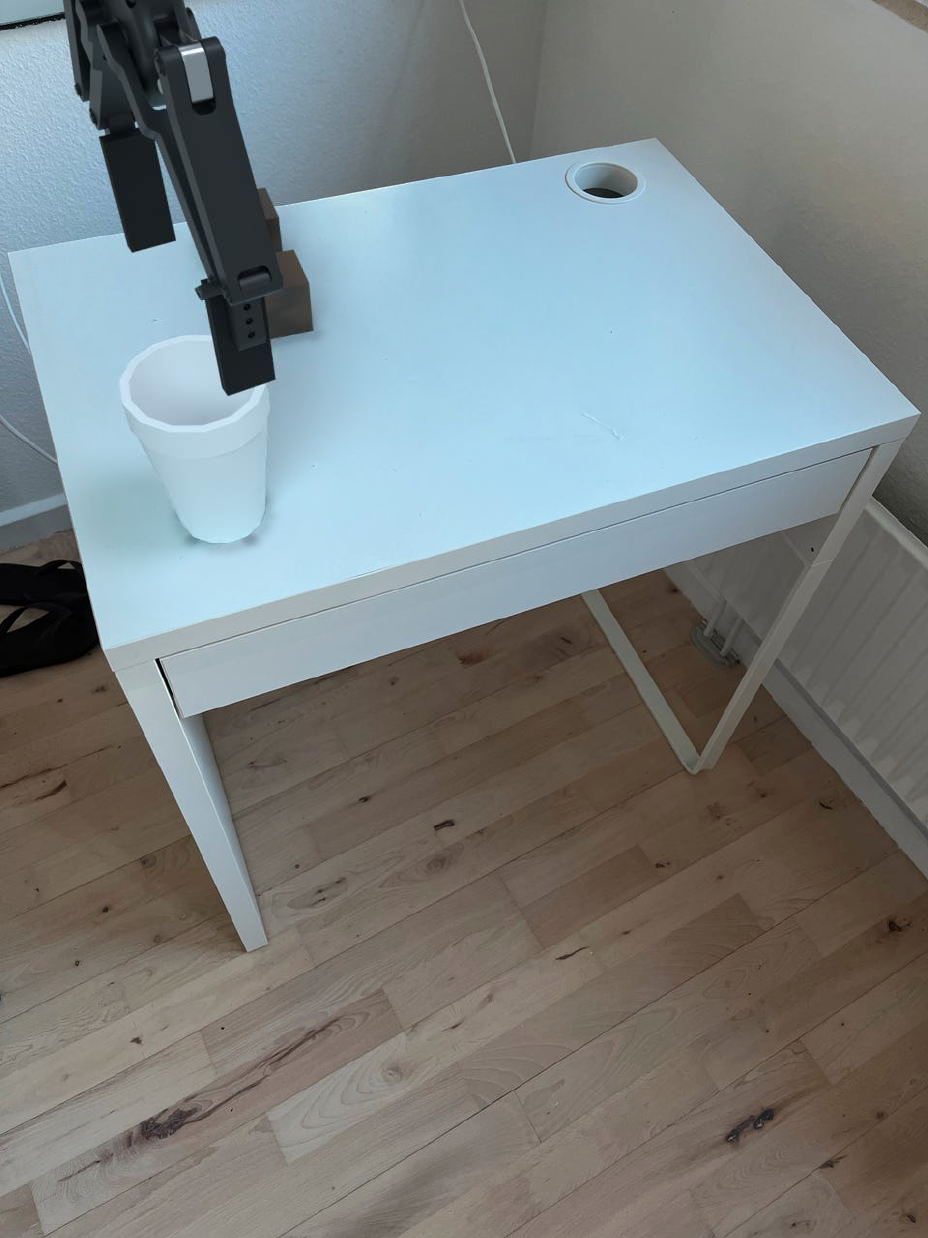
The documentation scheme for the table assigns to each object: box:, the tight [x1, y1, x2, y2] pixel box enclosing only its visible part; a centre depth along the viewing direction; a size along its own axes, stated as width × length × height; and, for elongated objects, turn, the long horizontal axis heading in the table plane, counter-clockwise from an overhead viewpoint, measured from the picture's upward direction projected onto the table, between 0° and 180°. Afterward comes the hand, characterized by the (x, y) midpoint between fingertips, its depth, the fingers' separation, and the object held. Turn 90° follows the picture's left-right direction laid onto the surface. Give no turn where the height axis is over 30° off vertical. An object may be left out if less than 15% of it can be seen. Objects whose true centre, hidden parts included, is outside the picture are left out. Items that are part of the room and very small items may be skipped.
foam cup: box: [118, 334, 272, 544], centre depth 67 cm, size 10×9×13 cm
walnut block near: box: [264, 249, 314, 340], centre depth 83 cm, size 5×5×5 cm
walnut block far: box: [257, 187, 284, 253], centre depth 88 cm, size 5×5×5 cm
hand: (197, 309), depth 52 cm, fingers open, 13 cm apart
